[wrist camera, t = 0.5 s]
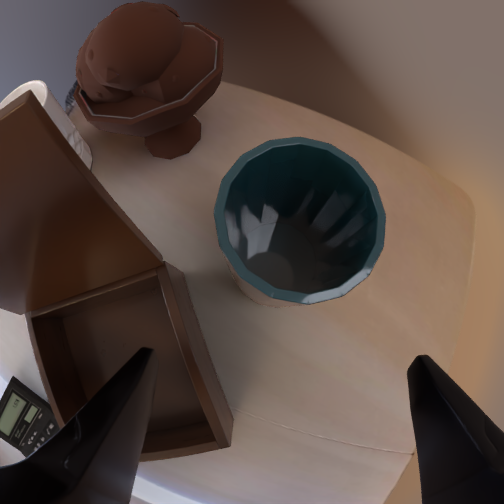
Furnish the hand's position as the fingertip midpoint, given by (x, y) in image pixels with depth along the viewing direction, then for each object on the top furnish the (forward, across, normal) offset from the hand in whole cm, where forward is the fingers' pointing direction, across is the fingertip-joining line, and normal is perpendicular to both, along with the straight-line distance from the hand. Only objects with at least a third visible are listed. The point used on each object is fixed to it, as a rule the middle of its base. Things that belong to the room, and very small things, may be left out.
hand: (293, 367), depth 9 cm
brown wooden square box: (+7, +10, +12) cm, 17 cm away
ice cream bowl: (+21, +10, -3) cm, 24 cm away
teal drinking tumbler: (+13, 0, +5) cm, 14 cm away
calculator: (0, +21, +20) cm, 29 cm away
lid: (+3, +13, -1) cm, 13 cm away
